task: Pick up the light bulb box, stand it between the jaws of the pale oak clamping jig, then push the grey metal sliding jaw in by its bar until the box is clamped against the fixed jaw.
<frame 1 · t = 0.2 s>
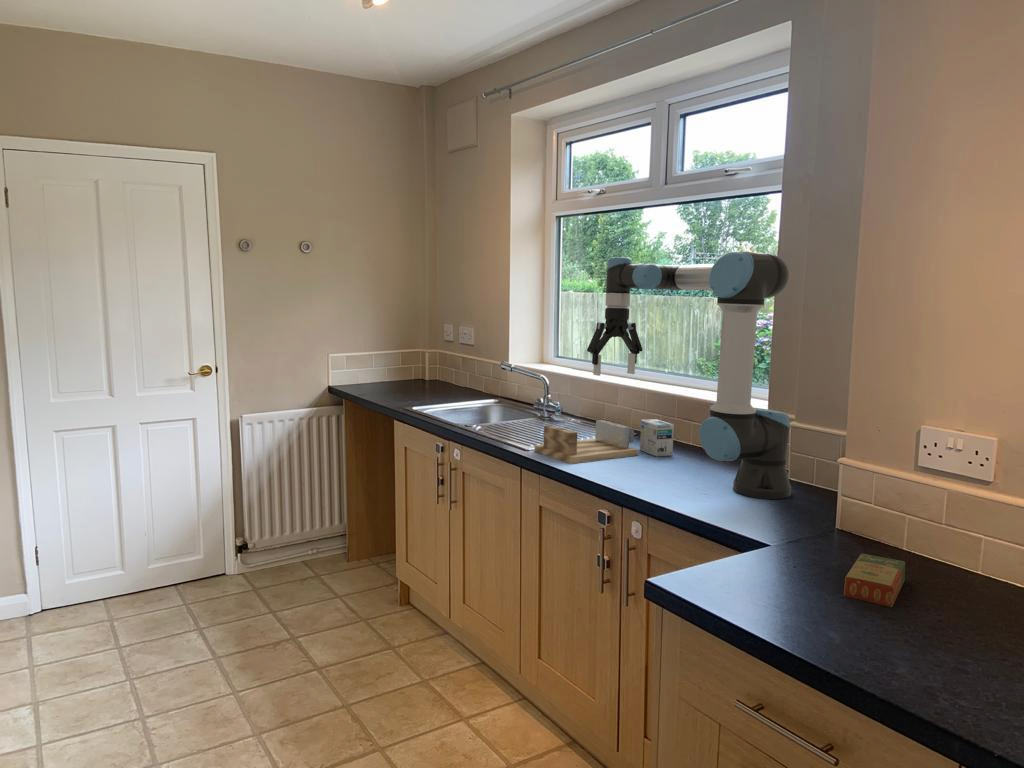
hand: (614, 374, 236), 28 cm above the worktop, fingers open, 13 cm apart
vise: (586, 453, 248), on the worktop
sliding jaw: (620, 433, 255), point 6 cm above the worktop, slide at 0.0 cm
light bulb box: (655, 453, 252), on the worktop
carton: (874, 590, 141), on the worktop
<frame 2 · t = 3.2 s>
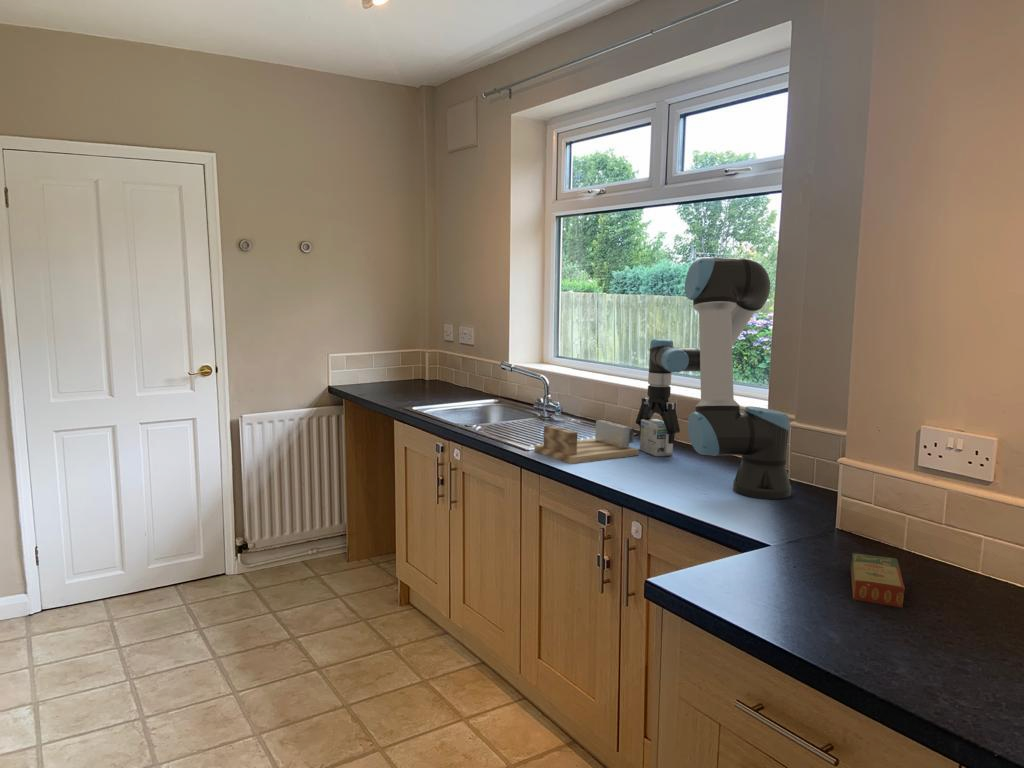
hand: (655, 449, 251), 1 cm above the worktop, fingers closed on light bulb box, 11 cm apart
light bulb box: (655, 453, 252), on the worktop, touching gripper
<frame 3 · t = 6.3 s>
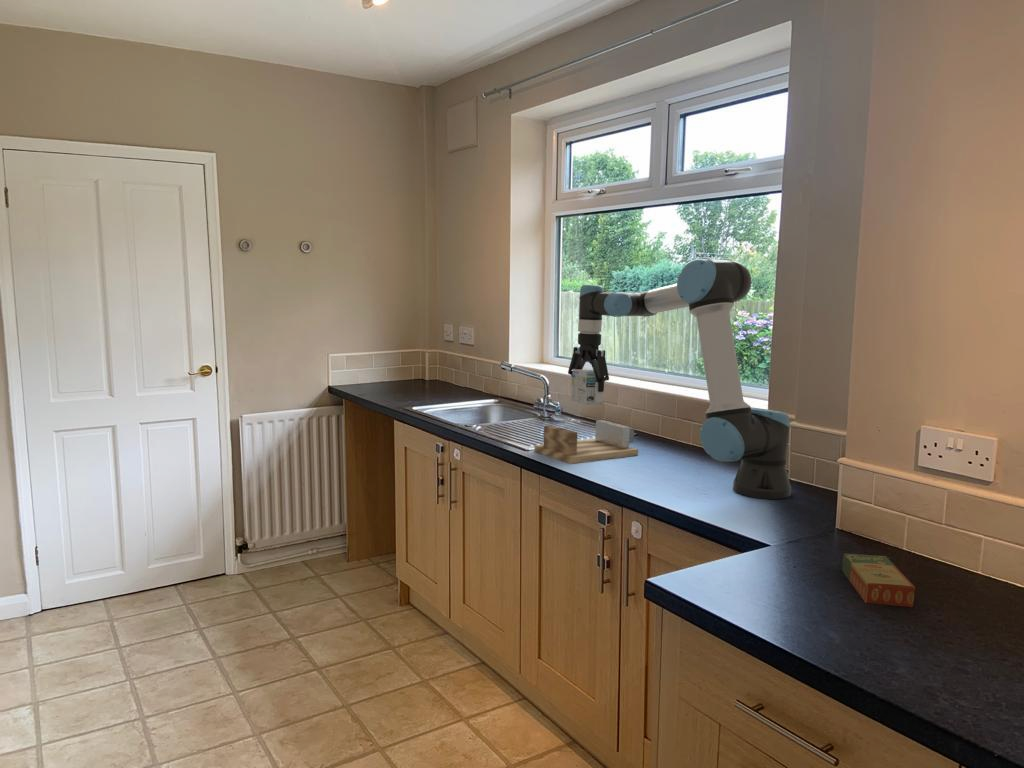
hand: (586, 399, 245), 18 cm above the worktop, fingers closed on light bulb box, 11 cm apart
light bulb box: (586, 403, 245), point 17 cm above the worktop, touching gripper
when the fingers open (5 cm above the worktop, at t = 9.4 s): light bulb box drops 2 cm, resting on vise.
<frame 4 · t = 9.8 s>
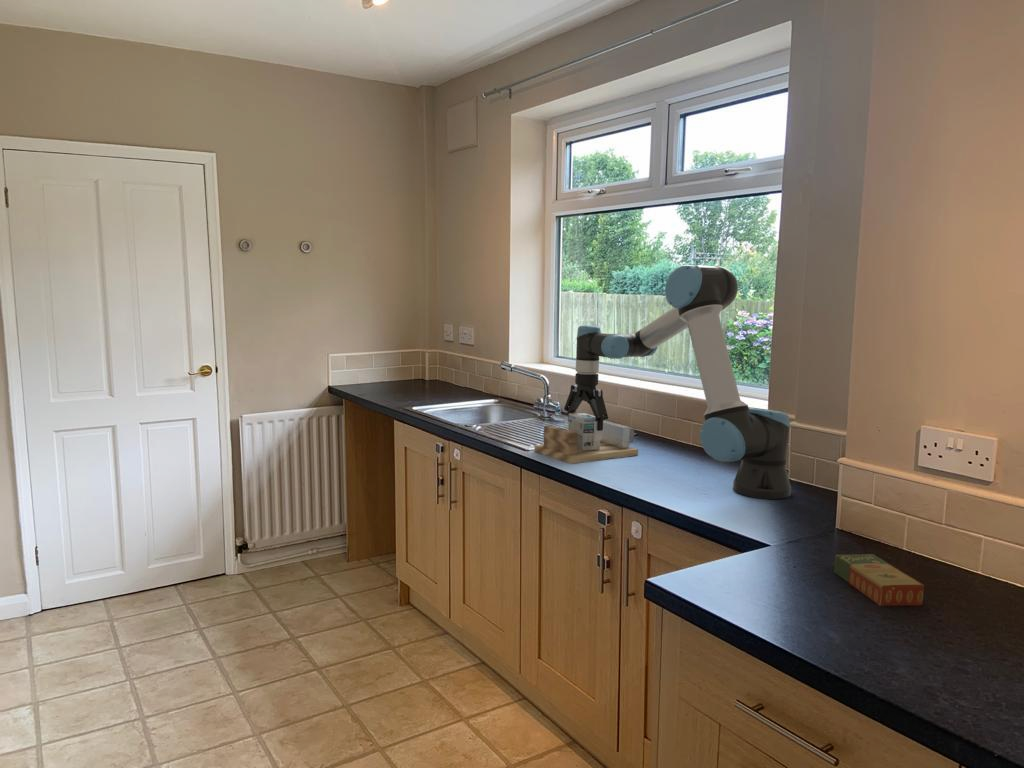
hand: (584, 436, 247), 6 cm above the worktop, fingers open, 13 cm apart
light bulb box: (583, 447, 247), point 2 cm above the worktop, touching vise
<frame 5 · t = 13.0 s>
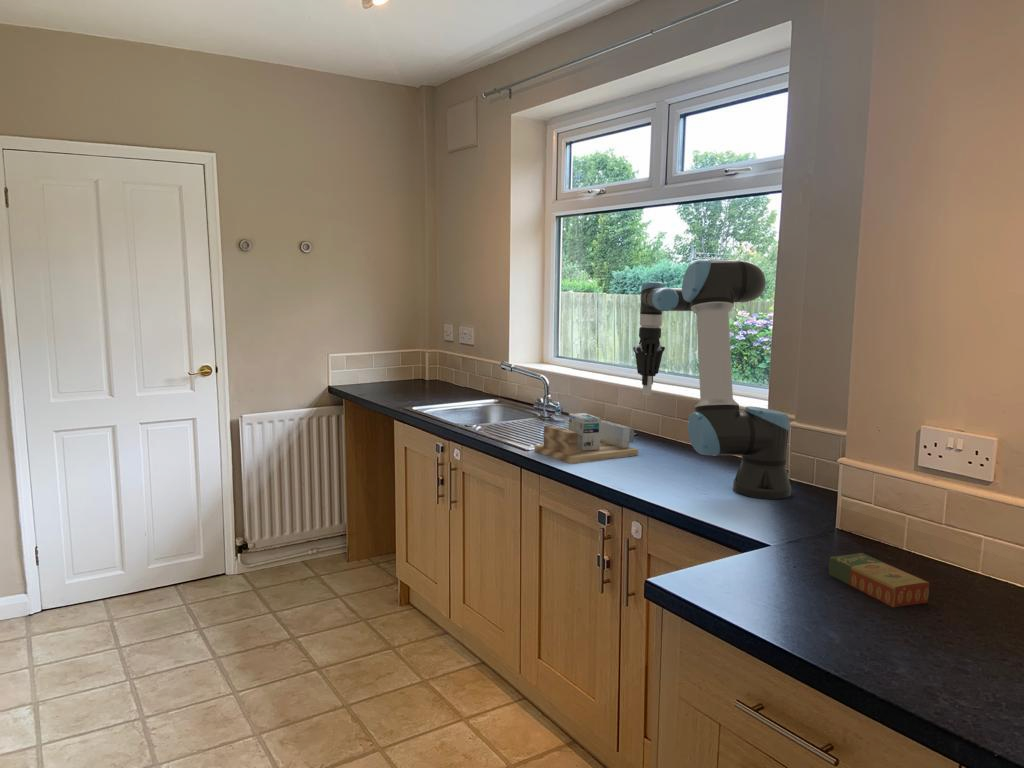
hand: (646, 394, 260), 18 cm above the worktop, fingers closed
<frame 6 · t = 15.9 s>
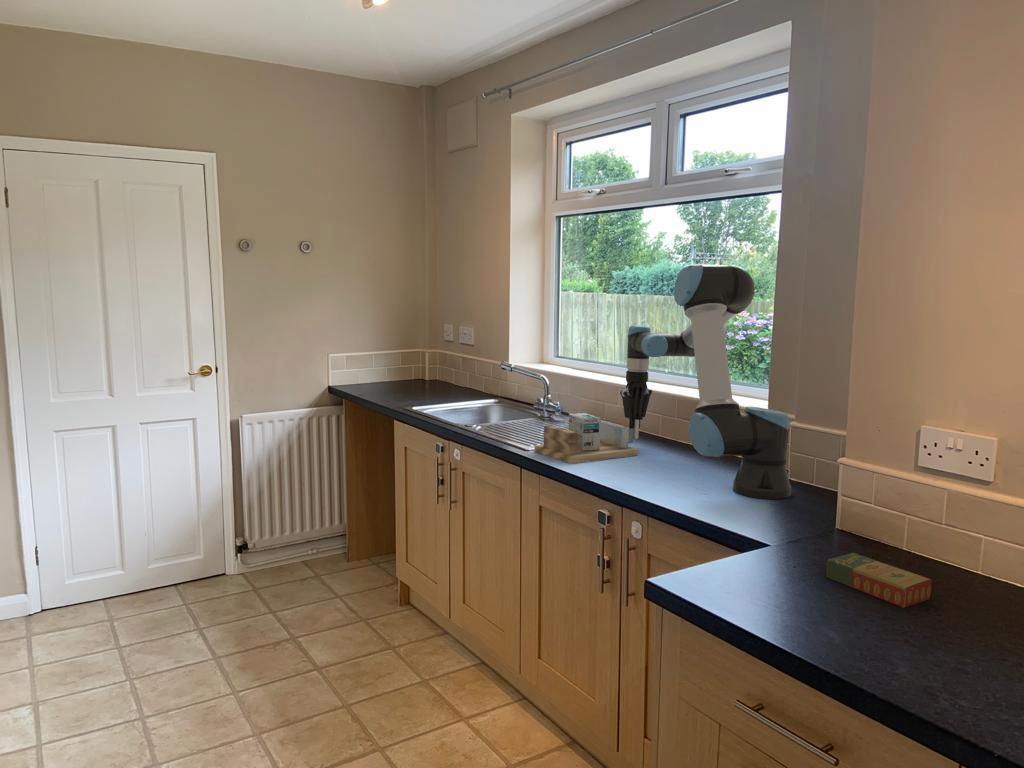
hand: (634, 437, 259), 3 cm above the worktop, fingers closed
sliding jaw: (619, 433, 255), point 6 cm above the worktop, slide at 0.3 cm, touching gripper
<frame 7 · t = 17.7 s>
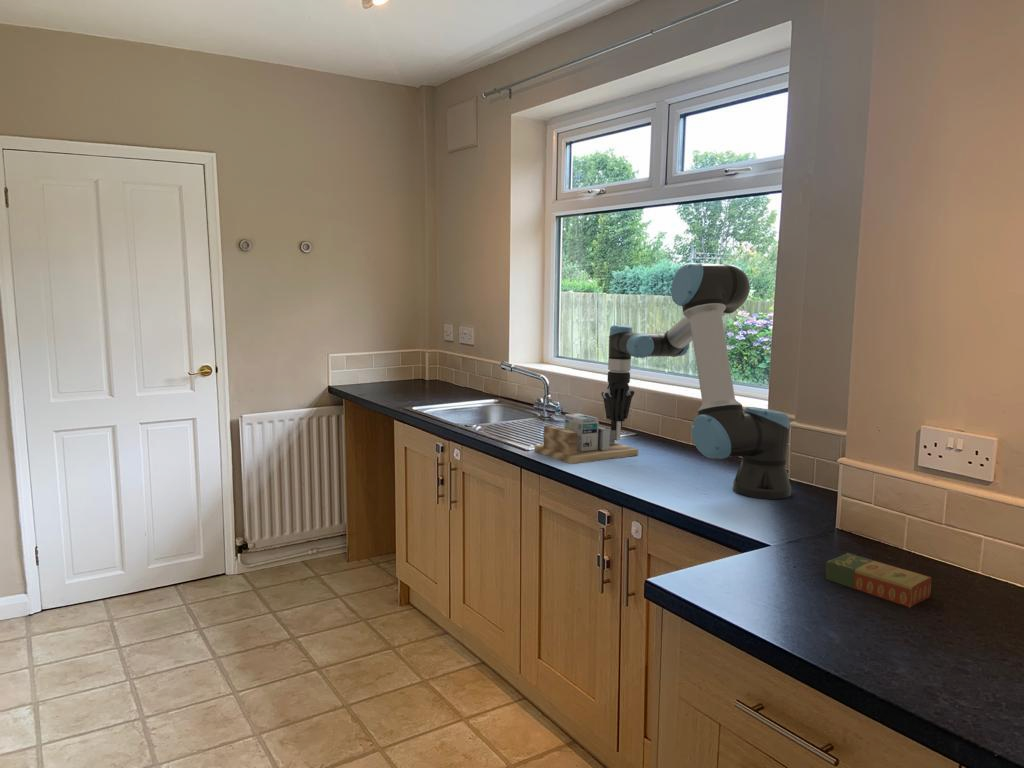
hand: (615, 439, 254), 3 cm above the worktop, fingers closed
sliding jaw: (600, 435, 250), point 6 cm above the worktop, slide at 8.5 cm, touching gripper
light bulb box: (580, 448, 246), point 2 cm above the worktop, touching vise
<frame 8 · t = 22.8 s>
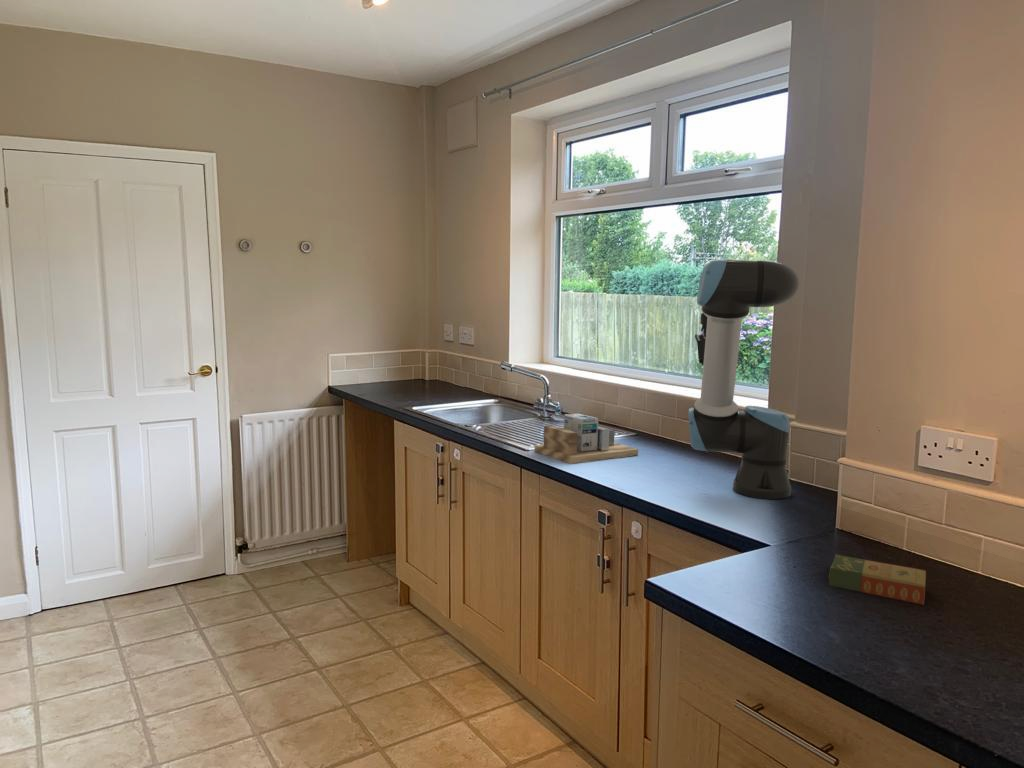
hand: (708, 385, 240), 24 cm above the worktop, fingers closed
sliding jaw: (600, 435, 250), point 6 cm above the worktop, slide at 8.8 cm
at the end: sliding jaw slide at 8.8 cm; light bulb box inside the target area on the vise (0.8 cm from its centre), point 1.8 cm above the vise's base; light bulb box tilted 0° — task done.
